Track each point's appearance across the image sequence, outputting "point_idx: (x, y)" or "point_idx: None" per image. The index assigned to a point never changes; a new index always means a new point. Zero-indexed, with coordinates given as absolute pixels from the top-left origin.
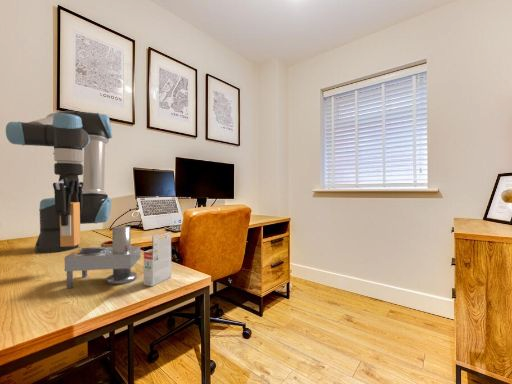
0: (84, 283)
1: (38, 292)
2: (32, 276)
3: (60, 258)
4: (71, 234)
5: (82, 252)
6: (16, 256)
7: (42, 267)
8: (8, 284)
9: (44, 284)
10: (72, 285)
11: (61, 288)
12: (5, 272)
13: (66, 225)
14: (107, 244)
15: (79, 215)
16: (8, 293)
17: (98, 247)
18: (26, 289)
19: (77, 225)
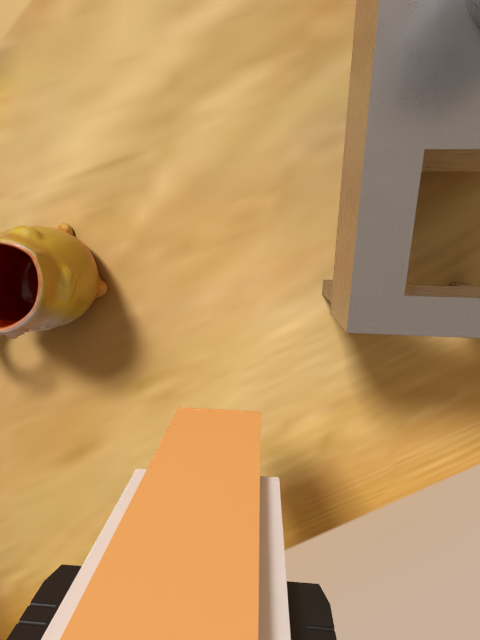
0: (417, 253)
1: (467, 383)
2: None
3: (50, 489)
4: (263, 480)
5: (441, 295)
6: None
7: None
8: (346, 513)
9: (381, 402)
10: (457, 284)
11: None
12: None
13: (315, 587)
14: (41, 285)
15: (76, 635)
16: (442, 471)
17: (364, 222)
18: (419, 436)
19: (181, 515)
